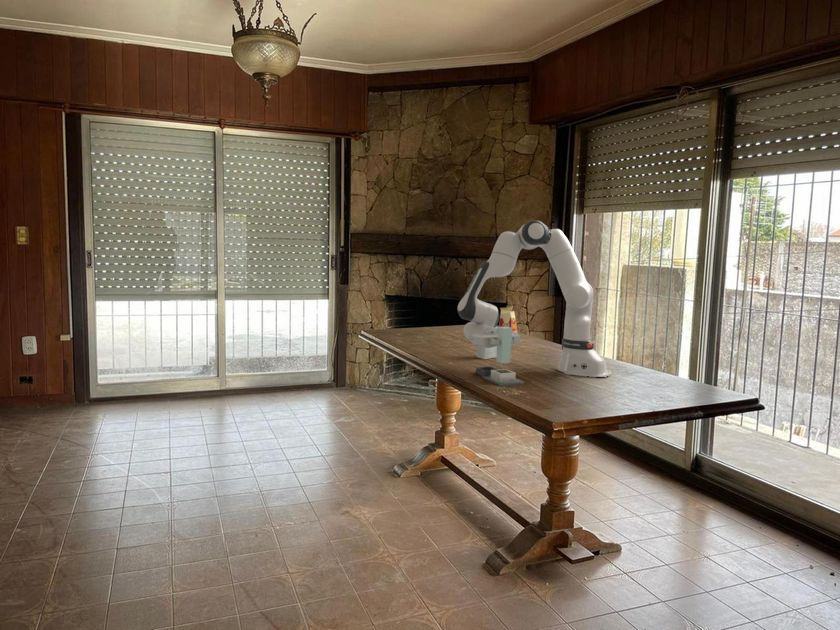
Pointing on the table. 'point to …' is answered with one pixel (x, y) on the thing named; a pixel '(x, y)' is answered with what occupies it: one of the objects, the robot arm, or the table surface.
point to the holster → (484, 370)
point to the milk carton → (508, 319)
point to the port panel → (503, 378)
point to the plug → (504, 345)
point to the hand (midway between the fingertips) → (505, 342)
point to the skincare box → (486, 352)
